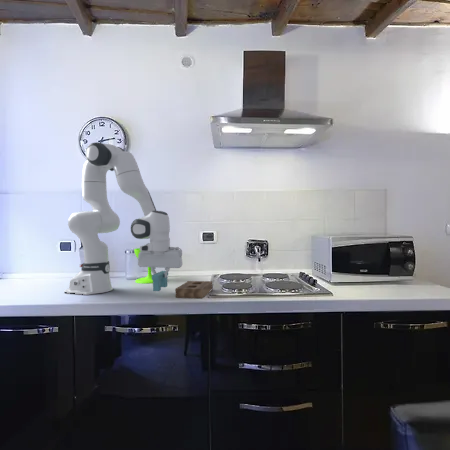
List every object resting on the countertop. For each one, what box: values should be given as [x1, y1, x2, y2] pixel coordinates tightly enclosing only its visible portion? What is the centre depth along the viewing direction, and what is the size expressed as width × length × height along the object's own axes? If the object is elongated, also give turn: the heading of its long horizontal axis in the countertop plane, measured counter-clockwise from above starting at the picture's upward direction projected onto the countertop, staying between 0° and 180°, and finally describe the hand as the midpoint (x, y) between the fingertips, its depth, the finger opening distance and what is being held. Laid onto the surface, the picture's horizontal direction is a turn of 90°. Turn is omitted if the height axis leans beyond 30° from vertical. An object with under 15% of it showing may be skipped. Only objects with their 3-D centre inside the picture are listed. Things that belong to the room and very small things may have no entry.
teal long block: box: [152, 270, 169, 292], centre depth 161 cm, size 3×12×7 cm, turn 168°
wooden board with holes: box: [174, 280, 213, 299], centre depth 162 cm, size 12×18×4 cm, turn 168°
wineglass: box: [133, 247, 153, 285], centre depth 198 cm, size 16×16×18 cm
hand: (160, 277), depth 161 cm, fingers closed on teal long block, 3 cm apart
